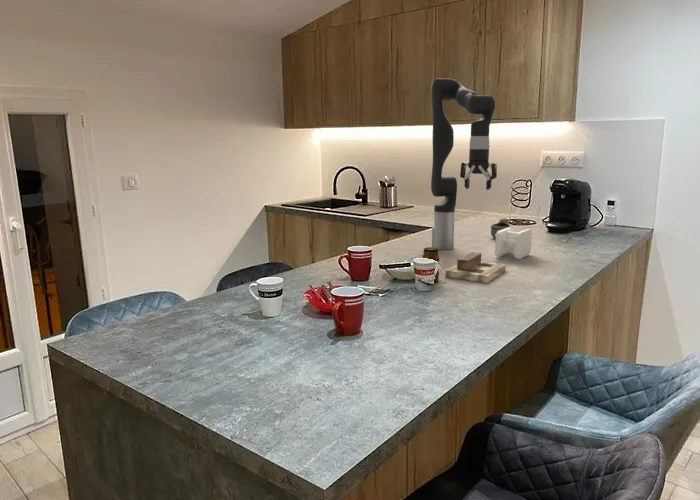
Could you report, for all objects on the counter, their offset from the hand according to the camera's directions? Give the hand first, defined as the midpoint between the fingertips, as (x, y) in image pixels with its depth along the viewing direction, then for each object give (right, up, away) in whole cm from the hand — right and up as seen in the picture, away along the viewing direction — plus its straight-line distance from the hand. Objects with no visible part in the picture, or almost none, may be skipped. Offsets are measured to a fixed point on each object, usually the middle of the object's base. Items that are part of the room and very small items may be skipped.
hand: (477, 189), depth 210 cm
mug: (+24, -19, +53) cm, 61 cm away
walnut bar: (-6, -33, -10) cm, 34 cm away
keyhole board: (-3, -33, -11) cm, 35 cm away
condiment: (-22, -36, -20) cm, 46 cm away
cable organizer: (+19, -27, +16) cm, 37 cm away
